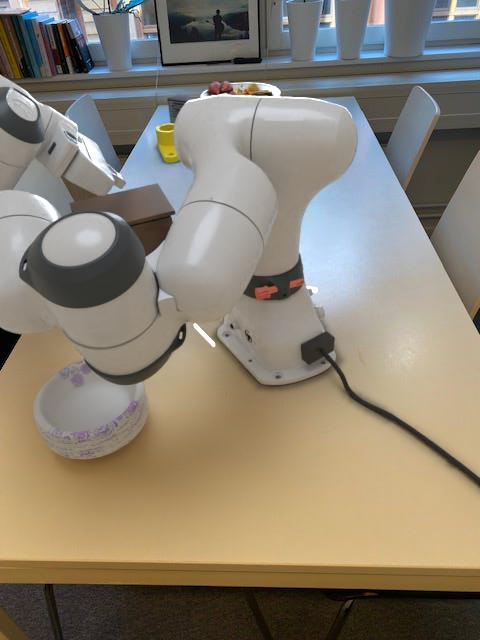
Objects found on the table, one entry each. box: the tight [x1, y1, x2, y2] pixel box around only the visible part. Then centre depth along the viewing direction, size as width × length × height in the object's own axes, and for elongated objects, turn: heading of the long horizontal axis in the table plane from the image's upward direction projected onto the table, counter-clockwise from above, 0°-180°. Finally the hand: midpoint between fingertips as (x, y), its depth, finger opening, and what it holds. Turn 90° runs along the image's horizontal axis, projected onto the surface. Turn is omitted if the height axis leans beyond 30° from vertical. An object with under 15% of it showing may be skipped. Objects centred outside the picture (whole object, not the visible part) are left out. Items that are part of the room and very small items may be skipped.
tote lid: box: [68, 182, 177, 225], centre depth 96 cm, size 18×14×1 cm
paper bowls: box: [32, 359, 150, 460], centre depth 70 cm, size 15×15×8 cm
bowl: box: [200, 80, 281, 98], centre depth 185 cm, size 30×30×8 cm
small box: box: [167, 93, 202, 123], centre depth 169 cm, size 11×6×10 cm, turn 58°
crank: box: [154, 122, 181, 164], centre depth 154 cm, size 18×8×6 cm, turn 7°
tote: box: [129, 215, 174, 257], centre depth 101 cm, size 18×14×14 cm
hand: (123, 183), depth 93 cm, fingers closed
